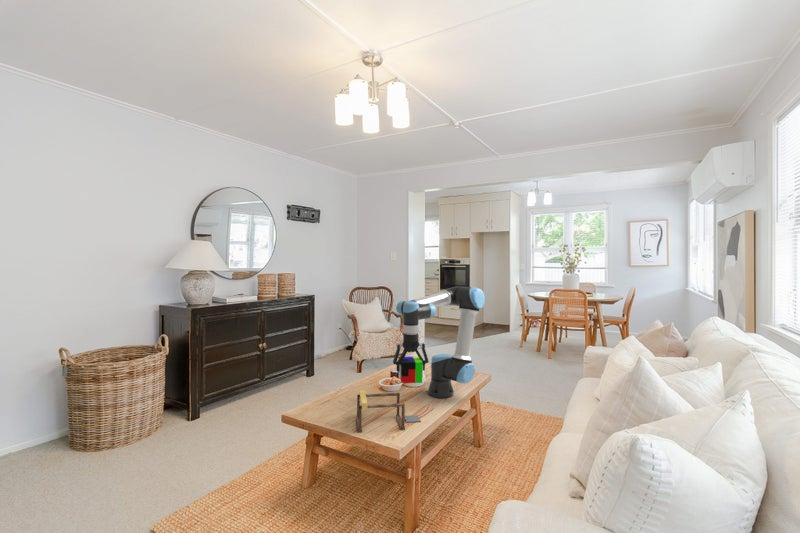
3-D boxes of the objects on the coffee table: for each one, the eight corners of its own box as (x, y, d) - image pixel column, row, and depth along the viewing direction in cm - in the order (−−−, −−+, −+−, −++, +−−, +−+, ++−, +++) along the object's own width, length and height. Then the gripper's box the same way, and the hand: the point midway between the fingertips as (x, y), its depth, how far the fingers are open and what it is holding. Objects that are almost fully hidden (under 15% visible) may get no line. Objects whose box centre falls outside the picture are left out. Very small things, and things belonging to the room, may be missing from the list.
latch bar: (364, 395, 192) (364, 390, 191) (367, 409, 174) (367, 403, 174) (359, 395, 191) (359, 390, 191) (362, 409, 174) (362, 403, 174)
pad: (417, 416, 194) (417, 415, 194) (420, 422, 187) (420, 421, 187) (403, 416, 193) (404, 415, 193) (406, 422, 186) (406, 421, 186)
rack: (399, 416, 194) (400, 392, 193) (405, 429, 179) (405, 404, 178) (356, 418, 190) (356, 394, 190) (357, 432, 175) (358, 406, 175)
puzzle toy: (399, 376, 194) (399, 357, 194) (419, 376, 195) (419, 356, 194) (401, 383, 184) (401, 362, 184) (422, 382, 185) (422, 362, 185)
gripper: (431, 330, 194) (431, 373, 195) (386, 332, 190) (387, 376, 191) (435, 333, 187) (435, 378, 187) (388, 335, 183) (388, 381, 184)
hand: (410, 377), depth 189 cm, fingers closed on puzzle toy, 10 cm apart
